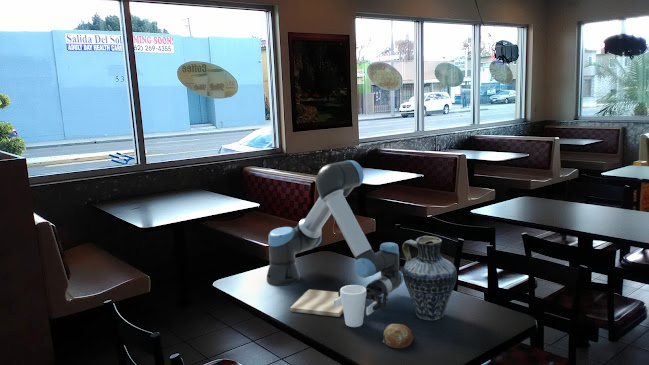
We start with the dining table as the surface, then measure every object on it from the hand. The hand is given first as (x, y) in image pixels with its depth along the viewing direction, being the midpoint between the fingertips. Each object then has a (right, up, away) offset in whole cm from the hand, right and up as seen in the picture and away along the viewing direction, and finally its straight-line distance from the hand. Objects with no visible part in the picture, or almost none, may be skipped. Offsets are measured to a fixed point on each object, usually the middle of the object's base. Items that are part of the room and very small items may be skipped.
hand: (350, 307), depth 190 cm
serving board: (-10, -4, +22) cm, 24 cm away
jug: (+29, -5, +7) cm, 31 cm away
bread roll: (+15, -9, -12) cm, 21 cm away
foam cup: (+1, -7, +3) cm, 8 cm away
